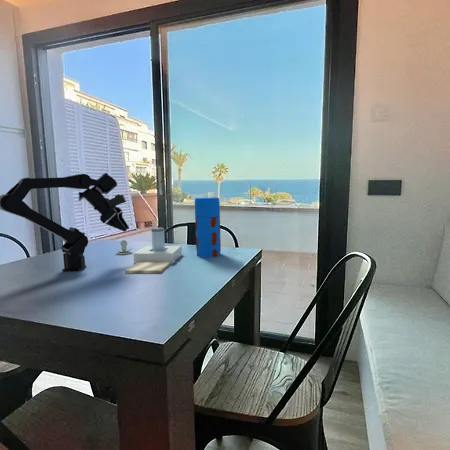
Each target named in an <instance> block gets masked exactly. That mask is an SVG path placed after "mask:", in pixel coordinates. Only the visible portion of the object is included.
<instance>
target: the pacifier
mask: <svg viewBox="0 0 450 450" xmlns="http://www.w3.org/2000/svg"><path fill="white" fill-rule="evenodd" d="M119 244H120V247H121V249H118V248H115V250H116V254H117V255H120V256H121V255H124V256H125V255H130V254H132V250H133V247H130V248H128V249H127V246H128V242H127V240H125V239H122V240H121V241H120V243H119Z"/></svg>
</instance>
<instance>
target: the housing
mask: <svg viewBox="0 0 450 450" xmlns="http://www.w3.org/2000/svg"><path fill="white" fill-rule="evenodd" d="M181 256H183V247H182V245H165V251H153V250H152V245H145V246H144V247H143V248H141V249H139V250H137V251H136V252H133V264H136V263H137V262H171V264H174V263H175V262H176V261H177V260H178V259H179V258H180V257H181Z"/></svg>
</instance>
